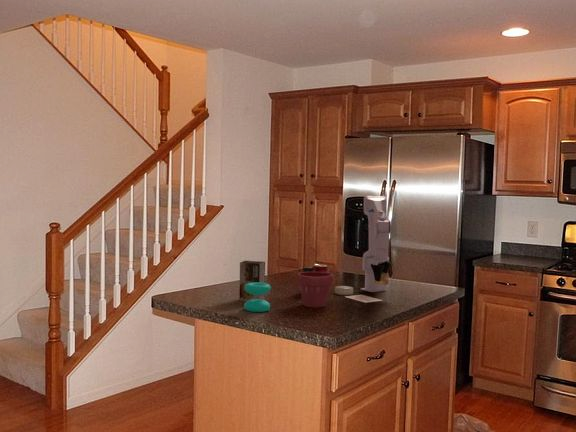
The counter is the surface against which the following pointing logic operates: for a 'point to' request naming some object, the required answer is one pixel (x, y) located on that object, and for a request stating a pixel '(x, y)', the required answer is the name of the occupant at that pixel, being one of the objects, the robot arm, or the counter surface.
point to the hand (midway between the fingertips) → (380, 279)
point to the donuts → (257, 304)
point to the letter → (363, 298)
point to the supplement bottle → (307, 269)
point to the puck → (343, 290)
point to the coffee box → (251, 278)
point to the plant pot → (314, 288)
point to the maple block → (383, 279)
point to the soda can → (320, 268)
